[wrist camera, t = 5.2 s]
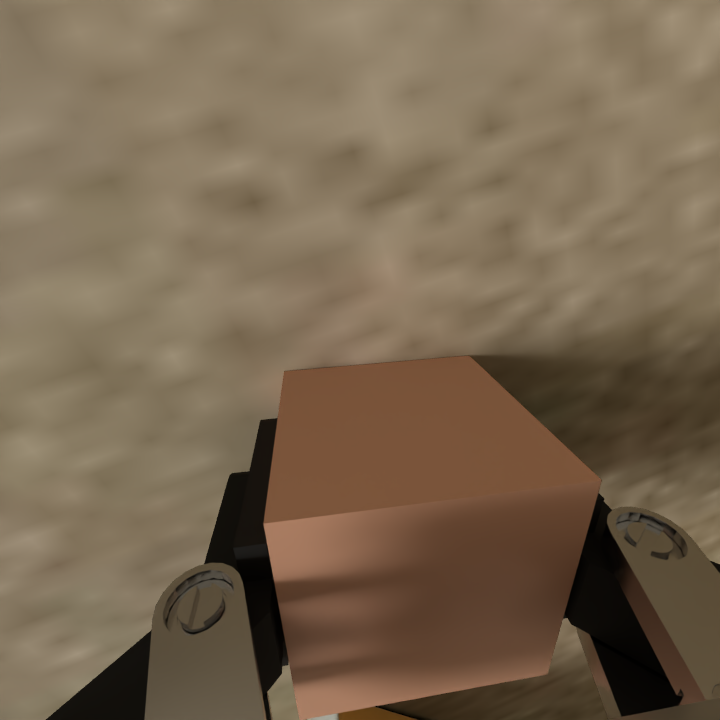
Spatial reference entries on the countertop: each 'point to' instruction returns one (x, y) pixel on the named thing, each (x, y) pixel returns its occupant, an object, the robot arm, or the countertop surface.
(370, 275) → the countertop surface
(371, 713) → the small box
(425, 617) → the terracotta block
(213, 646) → the robot arm
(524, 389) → the countertop surface
